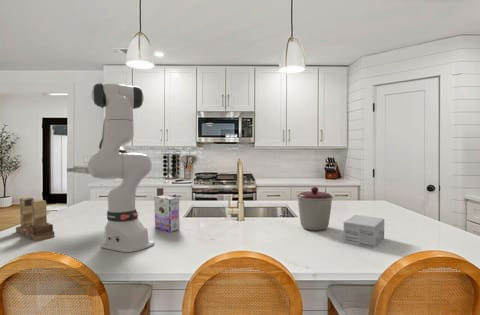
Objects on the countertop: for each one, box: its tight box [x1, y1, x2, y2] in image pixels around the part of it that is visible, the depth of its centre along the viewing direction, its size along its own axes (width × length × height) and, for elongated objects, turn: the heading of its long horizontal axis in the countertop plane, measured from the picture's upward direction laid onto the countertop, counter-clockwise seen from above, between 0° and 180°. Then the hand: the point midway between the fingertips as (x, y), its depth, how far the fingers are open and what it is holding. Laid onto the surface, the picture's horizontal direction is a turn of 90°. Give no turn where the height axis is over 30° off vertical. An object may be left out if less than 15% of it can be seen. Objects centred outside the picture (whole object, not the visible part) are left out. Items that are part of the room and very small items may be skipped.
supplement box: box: [343, 214, 385, 249], centre depth 137 cm, size 17×13×9 cm
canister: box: [296, 186, 334, 232], centre depth 158 cm, size 18×18×21 cm
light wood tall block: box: [31, 199, 48, 227], centre depth 145 cm, size 5×4×14 cm
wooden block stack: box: [15, 196, 55, 242], centre depth 149 cm, size 24×8×16 cm, turn 52°
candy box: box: [153, 194, 180, 233], centre depth 157 cm, size 14×6×16 cm, turn 47°
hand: (71, 170), depth 155 cm, fingers open, 8 cm apart
